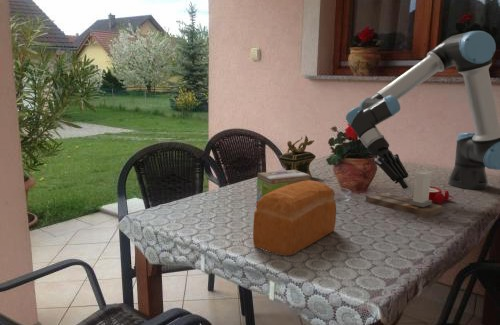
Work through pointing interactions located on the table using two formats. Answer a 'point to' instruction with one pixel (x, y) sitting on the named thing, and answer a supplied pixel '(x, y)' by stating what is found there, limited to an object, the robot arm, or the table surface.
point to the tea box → (278, 180)
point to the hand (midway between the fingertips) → (413, 195)
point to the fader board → (403, 204)
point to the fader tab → (421, 188)
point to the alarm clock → (438, 195)
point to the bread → (294, 217)
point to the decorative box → (298, 157)
